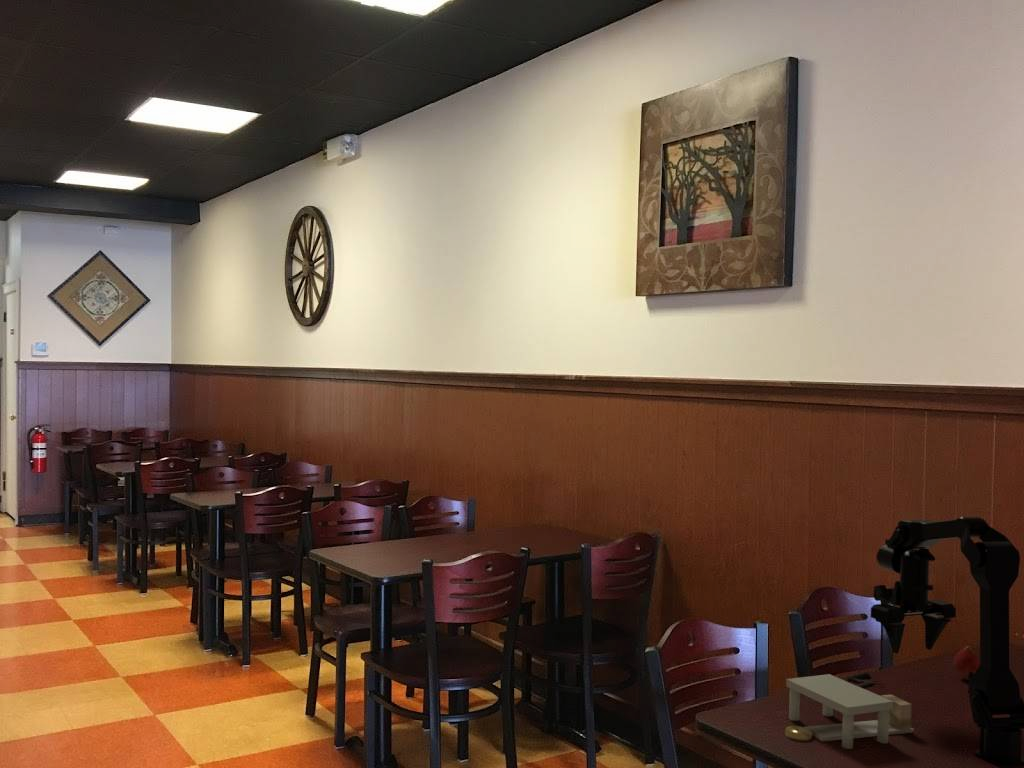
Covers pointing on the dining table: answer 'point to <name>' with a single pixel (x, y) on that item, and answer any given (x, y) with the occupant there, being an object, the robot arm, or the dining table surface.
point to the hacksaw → (864, 682)
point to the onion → (966, 662)
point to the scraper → (870, 723)
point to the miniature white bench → (840, 703)
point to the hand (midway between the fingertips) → (912, 651)
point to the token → (798, 733)
